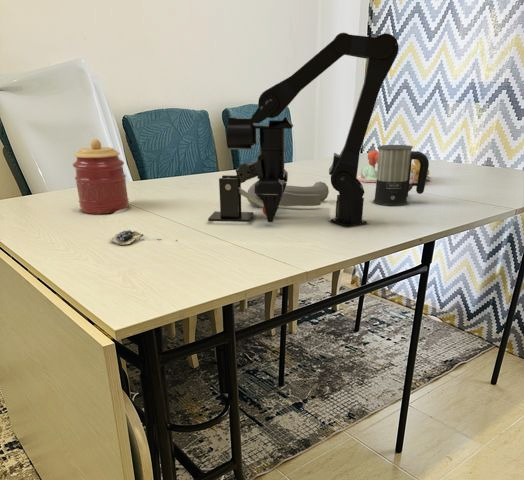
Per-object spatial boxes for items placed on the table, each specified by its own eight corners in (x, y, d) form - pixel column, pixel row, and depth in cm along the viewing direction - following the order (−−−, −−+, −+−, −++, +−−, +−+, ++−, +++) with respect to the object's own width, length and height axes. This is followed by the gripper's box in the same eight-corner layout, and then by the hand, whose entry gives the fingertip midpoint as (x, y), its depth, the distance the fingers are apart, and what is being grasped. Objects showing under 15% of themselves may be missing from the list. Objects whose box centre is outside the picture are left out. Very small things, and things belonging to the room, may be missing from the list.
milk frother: (380, 206, 140) (386, 148, 133) (359, 195, 153) (363, 142, 146) (428, 204, 142) (437, 147, 135) (403, 193, 156) (409, 140, 149)
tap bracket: (253, 216, 131) (252, 174, 126) (249, 224, 124) (248, 180, 119) (214, 216, 132) (212, 174, 127) (208, 223, 125) (205, 179, 120)
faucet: (331, 197, 155) (321, 216, 133) (264, 192, 159) (243, 210, 136) (333, 173, 152) (324, 189, 129) (264, 169, 156) (243, 183, 133)
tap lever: (272, 217, 128) (279, 205, 126) (271, 220, 125) (278, 208, 123) (223, 186, 126) (229, 174, 124) (220, 189, 123) (227, 176, 121)
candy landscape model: (429, 175, 184) (433, 147, 180) (433, 187, 164) (437, 156, 159) (358, 173, 189) (360, 146, 185) (353, 184, 169) (356, 154, 164)
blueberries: (146, 234, 116) (145, 226, 115) (139, 244, 109) (138, 235, 108) (115, 235, 116) (114, 226, 115) (107, 245, 108) (106, 236, 108)
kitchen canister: (125, 214, 134) (116, 141, 126) (75, 215, 133) (62, 142, 125) (132, 203, 146) (124, 136, 138) (86, 204, 145) (75, 137, 137)
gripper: (243, 144, 128) (245, 208, 135) (231, 154, 111) (233, 226, 119) (288, 145, 127) (287, 209, 134) (282, 154, 110) (281, 227, 118)
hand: (272, 217), depth 126 cm, fingers open, 9 cm apart
